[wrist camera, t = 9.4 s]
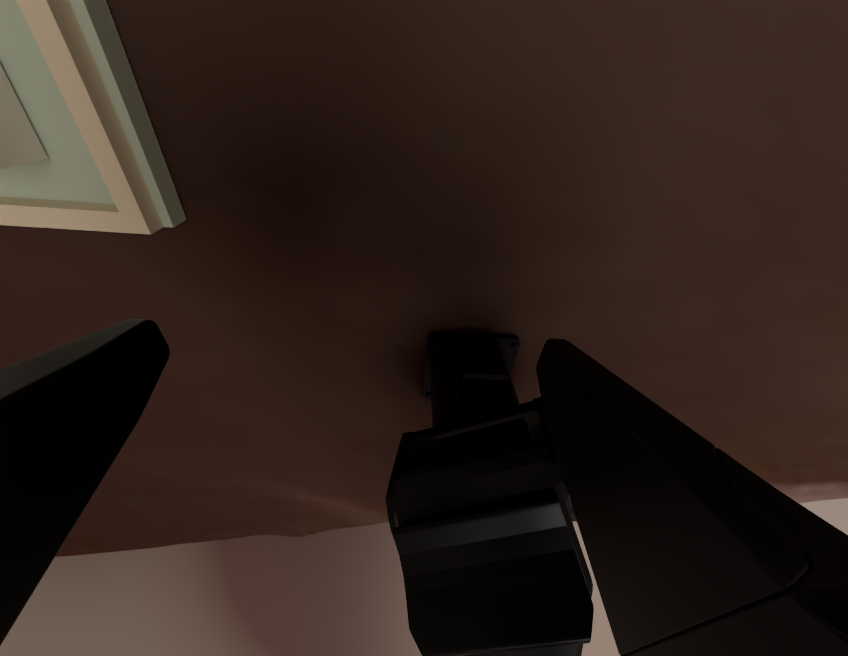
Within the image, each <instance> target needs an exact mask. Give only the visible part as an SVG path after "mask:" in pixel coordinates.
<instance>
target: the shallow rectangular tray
mask: <svg viewBox="0 0 848 656" xmlns="http://www.w3.org/2000/svg"><path fill="white" fill-rule="evenodd" d="M0 65H1V67H2V68H3V70H4V72H5V74H6V76H7V78H8V80H9V82H10V84H11V86H12V88H13V90H14V92H15V94H16V96H17V98H18V100H19V102H20V104H21V106H22V108H23V110H24V112H25V114H26V116H27V118H28V120H29V121H30V123H31V125H32V127H33V129H34V131H35V133H36V135H37V137H38V139H39V141H40V143H41V145H42V147H43V149H44V151H45V153H46V155H47V157H48V159H44V160H39V161H35V162H31V163H26V164H22V165H17V166H13V167H9V168H4V169H0V225H10V226H25V227H41V228H57V229H73V230H89V231H105V232H121V233H136V234H153V233H154V232H156V231H158V230H159V229H161V228H163V227H172V228H174V227H175V226H177V225H179V224H180V223H182V222H183V221H185V220H186V217H185V214H184V211H183V208H182V206H181V203H180V200H179V197H178V195H177V192H176V189H175V187H174V184H173V181H172V178H171V176H170V173H169V170H168V168H167V165H166V162H165V159H164V157H163V154H162V151H161V149H160V146H159V143H158V140H157V138H156V135H155V132H154V129H153V127H152V124H151V121H150V119H149V116H148V113H147V110H146V108H145V105H144V102H143V100H142V97H141V94H140V91H139V89H138V86H137V83H136V80H135V78H134V75H133V72H132V70H131V67H130V64H129V61H128V59H127V56H126V53H125V51H124V48H123V45H122V42H121V40H120V37H119V34H118V31H117V29H116V26H115V23H114V21H113V18H112V15H111V12H110V10H109V7H108V4H107V2H106V0H0Z"/></svg>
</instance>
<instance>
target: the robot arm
mask: <svg viewBox="0 0 848 656" xmlns="http://www.w3.org/2000/svg"><path fill="white" fill-rule="evenodd" d="M433 338H437V340H433ZM511 342H514V343H511ZM519 346H520V341H519V339H518V337H517V336H515V335H499V334H479V333H457V332H436V331H435V332H431V333H430V334H429V335H428V339H427V348H426V357H425V366H424V375H423V385H422V395H423V397H425V398H431V401H432V421H433V427H432V428H428V429H424V430H420V431H417V432H413V433H412V432H407V433H403V434H402V438H401V441H400V445H399V449H398V452H397V456H396V459H395V463H394V467H393V470H392V474H391V478H390V481H389V486H388V490H387V494H386V505H387V514H388V519H389V524H390V528H391V532H392V535H393V538H394V540H395V543H396V546H397V550H398V553H399V556H400V561H401V566H402V571H403V575H404V583H405V591H406V600H407V611H408V621H409V629H410V632H411V634H412V636H413V638H414V640H415V642H416V644H417V646H418V648H419V650H420V652H421V654H422V656H581V653H582V648H583V643H590V640H591V633H592V621H593V603H592V600H591V596H592V588H593V584H592V579H591V576H590V573H589V570H588V567H587V564H586V561H585V558H584V555H583V552H582V549H581V547H580V544H579V541H578V538H577V535H576V532H575V529H574V526H573V523H572V522H573V521H576V522H577V523H578V526H579V529H580V532H581V535H582V538H583V542H584V545H585V548H586V551H587V554H588V557H589V560H590V564H591V567H592V570H593V573H594V576H595V579H596V582H597V586H598V589H599V592H600V595H601V598H602V601H603V604H604V608H605V610H606V614H607V617H608V620H609V623H610V626H611V629H612V633H613V636H614V639H615V642H616V645H617V648H618V652H619V654H620V655H621V656H848V535H846V534H845V533H843V532H842V531H840V530H838V529H837V528H835V527H834V526H832V525H831V524H829V523H828V522H826V521H824V520H823V519H822V518H820V517H818V516H817V515H815V514H814V513H812V512H811V511H809V510H808V509H806V508H805V507H803V506H802V505H800V504H799V503H797V502H796V501H794V500H793V499H791V498H789V497H788V496H786V495H785V494H783V493H782V492H780V491H779V490H777V489H776V488H774V487H773V486H771V485H770V484H769V483H767V482H766V481H764V480H763V479H761V478H760V477H758V476H757V475H756V474H754V473H753V472H751V471H750V470H748V469H747V468H746V467H744V466H743V465H741V464H740V463H738V462H737V461H736V460H734V459H733V458H731V457H730V456H729V455H727V454H726V453H724V452H723V451H722V450H720V449H718V448H715V446H714V445H713V444H712V443H710V442H709V441H707V440H706V439H705V438H703V437H702V436H700V435H699V434H698V433H696V432H695V431H693V430H692V429H691V428H689V427H688V426H686V425H685V424H684V423H682V422H681V421H679V420H678V419H677V418H675V417H674V416H672V415H671V414H670V413H668V412H667V411H665V410H664V409H663V408H661V407H660V406H658V405H657V404H656V403H654V402H653V401H651V400H650V399H649V398H647V397H646V396H644V395H643V394H642V393H640V392H639V391H637V390H636V389H635V388H633V387H632V386H630V385H629V384H628V383H626V382H625V381H623V380H622V379H621V378H619V377H618V376H616V375H615V374H614V373H612V372H611V371H609V370H608V369H607V368H605V367H604V366H602V365H601V364H599V363H598V362H597V361H595V360H594V359H592V358H591V357H590V356H588V355H587V354H585V353H584V352H583V351H581V350H580V349H578V348H577V347H576V346H574V345H573V344H571V343H570V342H569V341H567V340H565V339H548V340H547V341H546V343H545V345H544V347H543V350H542V352H541V355H540V357H539V360H538V362H537V368H536V371H537V377H538V382H539V387H540V393H541V397H539V398H535V399H533V401H530V402H527V403H523V404H519V401H518V398H517V395H516V392H515V389H514V386H513V382H512V379H511V376H510V373H511V370H512V367H513V364H514V361H515V358H516V355H517V352H518V349H519ZM169 354H170V350H169V346H168V344H167V343H166V341H165V339H164V337H163V335H162V333H161V331H160V329H159V327H158V326H157V324H156V323H155V322H154V321H152V320H147V319H129V320H126V321H123V322H121V323H118V324H116V325H113V326H111V327H108V328H106V329H103V330H100V331H98V332H95V333H93V334H90V335H88V336H85V337H83V338H80V339H77V340H75V341H72V342H70V343H67V344H65V345H62V346H60V347H57V348H54V349H52V350H49V351H47V352H44V353H42V354H39V355H36V356H34V357H31V358H29V359H26V360H24V361H21V362H19V363H16V364H13V365H11V366H8V367H6V368H3V369H1V370H0V645H1V644H2V642H3V640H4V639H5V637H6V636H7V634H8V632H9V631H10V629H11V627H12V626H13V624H14V623H15V621H16V619H17V618H18V616H19V614H20V613H21V611H22V610H23V608H24V606H25V605H26V603H27V601H28V600H29V598H30V596H31V595H32V593H33V592H34V590H35V588H36V587H37V585H38V583H39V582H40V580H41V579H42V577H43V575H44V574H45V572H46V570H47V569H48V567H49V566H50V564H51V562H52V560H53V559H54V557H55V556H56V554H57V553H58V551H59V549H60V548H61V546H62V544H63V543H64V541H65V539H66V538H67V536H68V535H69V533H70V531H71V530H72V528H73V526H74V525H75V523H76V522H77V520H78V518H79V517H80V515H81V513H82V512H83V510H84V509H85V507H86V505H87V504H88V502H89V500H90V499H91V497H92V495H93V494H94V492H95V491H96V489H97V487H98V486H99V484H100V482H101V481H102V479H103V478H104V476H105V474H106V473H107V471H108V469H109V468H110V466H111V465H112V463H113V461H114V460H115V458H116V456H117V455H118V453H119V451H120V450H121V448H122V447H123V445H124V443H125V442H126V440H127V438H128V437H129V435H130V434H131V432H132V430H133V429H134V427H135V425H136V424H137V422H138V420H139V418H140V417H141V415H142V413H143V411H144V409H145V407H146V405H147V403H148V401H149V398H150V396H151V394H152V392H153V390H154V388H155V386H156V384H157V382H158V379H159V377H160V375H161V373H162V371H163V369H164V367H165V365H166V363H167V361H168V358H169Z"/></svg>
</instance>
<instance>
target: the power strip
mask: <svg viewBox="0 0 848 656" xmlns="http://www.w3.org/2000/svg"><path fill="white" fill-rule="evenodd" d="M44 159H48V157H47V155H46V153H45V151H44V149H43V147H42V145H41V143H40V141H39V139H38V137H37V135H36V133H35V131H34V129H33V127H32V125H31V123H30V121H29V120H28V118H27V116H26V114H25V112H24V110H23V108H22V106H21V104H20V102H19V100H18V98H17V96H16V94H15V92H14V90H13V88H12V86H11V84H10V82H9V80H8V78H7V76H6V74H5V72H4V70H3V68H2V67H1V65H0V169H4V168H9V167H13V166H17V165H22V164H26V163H31V162H35V161H39V160H44Z"/></svg>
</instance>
